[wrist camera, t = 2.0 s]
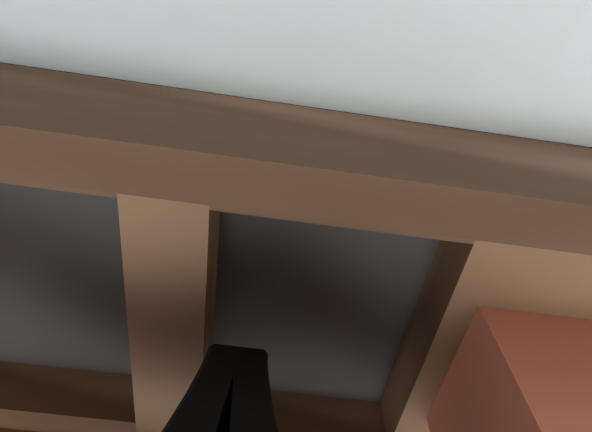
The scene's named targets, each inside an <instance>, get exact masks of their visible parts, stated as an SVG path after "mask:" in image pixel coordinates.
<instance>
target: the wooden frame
mask: <svg viewBox="0 0 592 432" xmlns="http://www.w3.org/2000/svg"><path fill="white" fill-rule="evenodd" d="M478 306H483V307H491V308H499V309H508V310H516V311H524V312H532V313H540V314H549V315H557V316H565V317H573V318H581V319H589V320H592V148H590V147H583V146H576V145H569V144H562V143H555V142H548V141H541V140H534V139H527V138H520V137H513V136H506V135H500V134H493V133H486V132H479V131H472V130H465V129H458V128H451V127H444V126H437V125H430V124H423V123H416V122H409V121H402V120H395V119H388V118H381V117H374V116H367V115H360V114H353V113H346V112H340V111H333V110H326V109H319V108H312V107H305V106H298V105H291V104H284V103H277V102H270V101H263V100H256V99H249V98H242V97H235V96H228V95H221V94H214V93H207V92H200V91H193V90H187V89H180V88H173V87H166V86H159V85H152V84H145V83H138V82H131V81H124V80H117V79H110V78H103V77H96V76H89V75H82V74H75V73H68V72H61V71H54V70H47V69H40V68H33V67H27V66H20V65H13V64H6V63H0V432H161V431H162V430H163V429H164V427H165V426H166V424H167V422H168V421H169V419H170V418H171V416H172V415H173V413H174V411H175V410H176V408H177V406H178V405H179V403H180V402H181V400H182V398H183V397H184V395H185V394H186V392H187V390H188V388H189V387H190V385H191V383H192V381H193V379H194V378H195V376H196V374H197V372H198V370H199V368H200V366H201V364H202V362H203V360H204V358H205V355H206V353H207V350H208V348H209V346H211V345H213V344H222V345H230V346H239V347H248V348H257V349H264V350H265V351H266V352H267V353H268V374H269V384H270V391H271V397H272V404H273V409H274V414H275V419H276V423H277V428H278V432H430V430H429V426H428V423H427V419H426V417H427V415H428V413H429V411H430V408H431V406H432V404H433V402H434V400H435V398H436V396H437V394H438V391H439V389H440V387H441V385H442V383H443V381H444V379H445V377H446V374H447V372H448V370H449V368H450V366H451V364H452V362H453V359H454V357H455V355H456V353H457V351H458V349H459V347H460V345H461V342H462V340H463V338H464V336H465V334H466V332H467V330H468V328H469V325H470V323H471V321H472V319H473V317H474V315H475V313H476V310H477V308H478Z"/></svg>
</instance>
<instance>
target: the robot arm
mask: <svg viewBox="0 0 592 432" xmlns="http://www.w3.org/2000/svg"><path fill="white" fill-rule="evenodd" d="M161 432H278V428H277V423H276V419H275V414H274V409H273V404H272V397H271V391H270V384H269V374H268V353H267V352H266V351H265V350H264V349H257V348H248V347H239V346H230V345H222V344H213V345H211V346H209V348H208V350H207V353H206V355H205V358H204V360H203V362H202V364H201V366H200V368H199V370H198V372H197V374H196V376H195V378H194V379H193V381H192V383H191V385H190V387H189V388H188V390H187V392H186V394H185V395H184V397H183V398H182V400H181V402H180V403H179V405H178V406H177V408H176V410H175V411H174V413H173V415H172V416H171V418H170V419H169V421H168V422H167V424H166V426H165V427H164V429H163V430H162V431H161Z"/></svg>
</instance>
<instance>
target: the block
mask: <svg viewBox="0 0 592 432" xmlns="http://www.w3.org/2000/svg"><path fill="white" fill-rule="evenodd" d="M426 419H427V423H428V426H429V430H430V432H592V320H589V319H581V318H573V317H565V316H557V315H549V314H540V313H532V312H524V311H516V310H508V309H499V308H491V307H483V306H478V308H477V310H476V313H475V315H474V317H473V319H472V321H471V323H470V325H469V328H468V330H467V332H466V334H465V336H464V338H463V340H462V342H461V345H460V347H459V349H458V351H457V353H456V355H455V357H454V359H453V362H452V364H451V366H450V368H449V370H448V372H447V374H446V377H445V379H444V381H443V383H442V385H441V387H440V389H439V391H438V394H437V396H436V398H435V400H434V402H433V404H432V406H431V408H430V411H429V413H428V415H427V417H426Z"/></svg>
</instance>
